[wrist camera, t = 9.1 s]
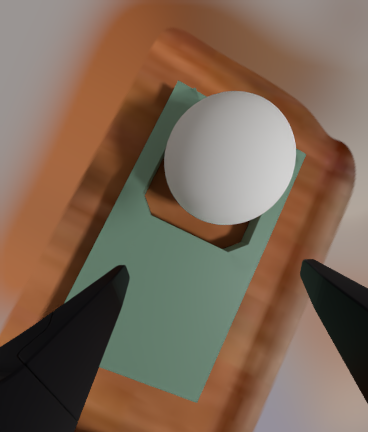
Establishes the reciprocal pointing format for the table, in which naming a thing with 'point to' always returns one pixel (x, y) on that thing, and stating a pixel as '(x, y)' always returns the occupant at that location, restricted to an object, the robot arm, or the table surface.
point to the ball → (230, 158)
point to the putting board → (172, 276)
